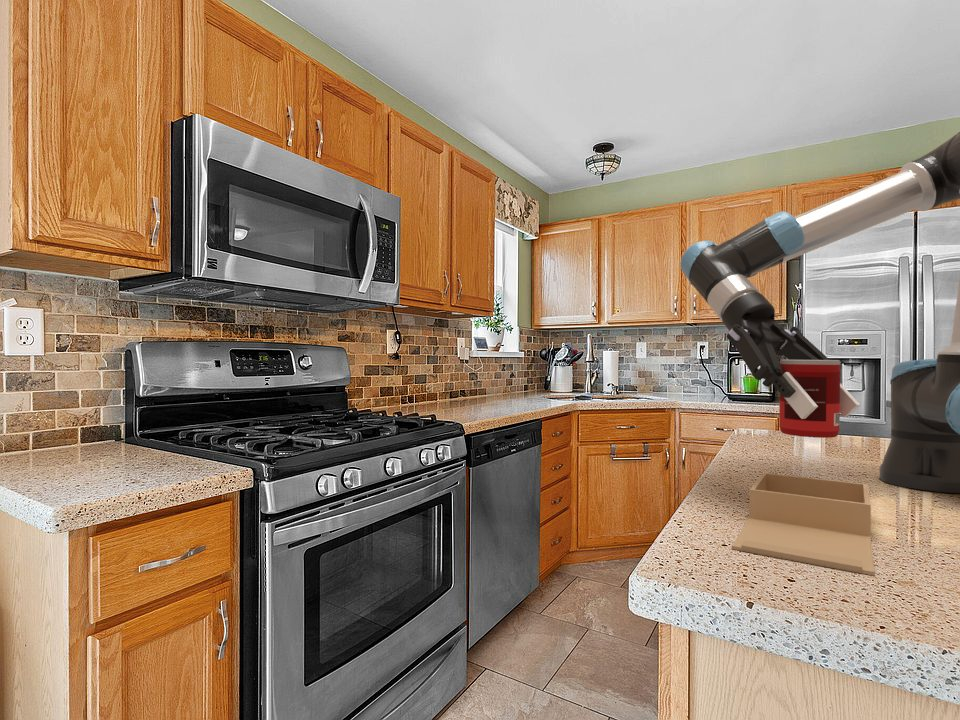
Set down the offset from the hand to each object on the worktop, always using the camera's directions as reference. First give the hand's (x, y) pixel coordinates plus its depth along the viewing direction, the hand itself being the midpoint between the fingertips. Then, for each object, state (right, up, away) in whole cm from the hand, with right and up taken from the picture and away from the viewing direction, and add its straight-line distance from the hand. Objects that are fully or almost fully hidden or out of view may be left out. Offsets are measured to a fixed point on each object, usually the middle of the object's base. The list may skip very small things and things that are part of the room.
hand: (831, 411), depth 77 cm
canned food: (-1, -4, +3) cm, 5 cm away
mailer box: (-5, -16, -3) cm, 17 cm away
